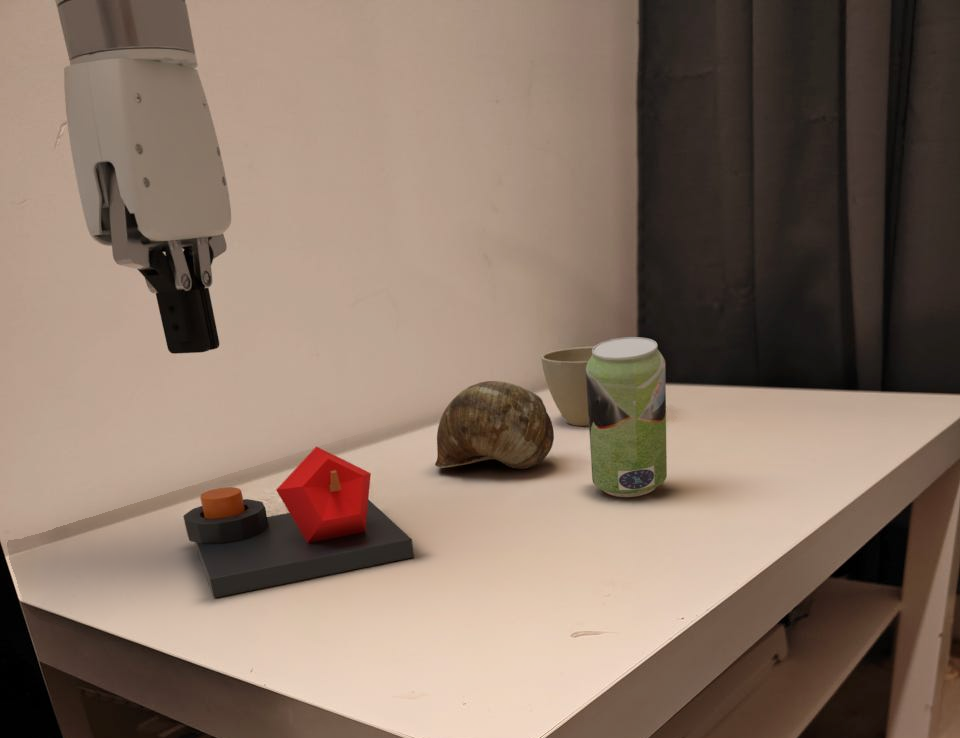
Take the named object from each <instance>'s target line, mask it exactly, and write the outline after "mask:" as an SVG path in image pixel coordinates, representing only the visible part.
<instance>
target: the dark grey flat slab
mask: <svg viewBox="0 0 960 738" xmlns="http://www.w3.org/2000/svg"><path fill="white" fill-rule="evenodd" d="M243 502H244V508H245V512H243V513H241V514H238V515H235V516H230V517H225V518H212V519H208V518H205V517H204V512H203V508H202V505H200V506H197V507H194V508H192V509H191V510H189V511H187V512H186V513H185V514H184V515H183V522H184V526H185V531H186V534H187V537H188V540H189V541H190V542H193V543H194V546H195V548H196V552H197V554H198V558H199V560H200V562H201V566H202V569H203V571H204V573H205V577H206V579H207V580H206V581H207V582H208V585H209V588H210V592H211V594H212V597H213V598H214V599H216V598H221V597H227V596H231V595H235V594H240V593H245V592H250V591H256V590H260V589H261V590H262V589H266V588H269V587H275V586H280V585H281V586H282V585H284V584H290V583H296V582H300V581H305V580H309V579H314V578H320V577H324V576H330V575H334V574H338V573H343V572H344V573H345V572H348V571H353V570H358V569H359V570H360V569H364V568H368V567H373V566H379V565H383V564H389V563H392V562H398V561H402V560H409V559H413V558H414V557H415V555H414V554H415V553H414V546H413V538H411V537H410V536H409V535H408V533H406V532H405V531H404V530H403V529H401V528H400V527H399V526H398V524H396V523H395V522H394V521H393V520H392V519H391V518H390V517H389V516H387V515H386V514H385V513H384V512H383V511H382V510H381V509H380V508H379V507H378V506H377V505H375V504H374V502H372V500H370V499H369V498H368V509H367V520H366V531H365V532H362V533H357V534H352V535H347V536H342V537H337V538H332V539H327V540H321V541H316V542H311V543H307V542H306V540H305V538H304V536H303V535H302V533H301V531H300V530H299V528H298V526H297V525H296V523H295V521H294V519H293V518H292V516H291V514H290V513H289V512H288V513H282V514H275V515H270V516H269V515H267V509H266V506H265V504H264V503H263V501H260V500H254V499H249V498H243Z"/></svg>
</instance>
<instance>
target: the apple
mask: <svg viewBox="0 0 960 738" xmlns="http://www.w3.org/2000/svg"><path fill="white" fill-rule="evenodd" d="M371 475H372V473H371V472H369V471H367V470H366V469H363V468H361V467H359V466H358V465H355V464H353V463H351V462H350V461H347V460H345V459H343V458H341V457H339V456H337V455H335V454H332V453H331V452H329V451H327V450H325V449H323V448H320V447H319V446H315V447H314V448H313V449H312V450H311V451H310V453H308V455H307V456H306V457H305V458H304V459H303V460H302V461H301V462H300V463H299V465H297V466H296V468H294V470H293V471H292V472H291V473H290V474H289V475H288V476H287V478H285V479H284V481H283V482H282V483H281V484H280V485H279V486H278V487H277V488H276V489H275V491H276V492H277V494H278V496H279V497H280V499H281V501H282V502H283V504H284V507H286V510H287V512H288V513H290V514H291V516H292V518H293V519H294V521H295V523H296V525H297V526H298V528H299V530H300V531H301V533H302V535H303V536H304V538H305V540H306V542H307V543H311V542H316V541H321V540H327V539H332V538H337V537H342V536H347V535H352V534H357V533H362V532H365V531H366V520H367V509H368V499H369V498H370V497H369V496H370V488H371V487H370V486H371Z"/></svg>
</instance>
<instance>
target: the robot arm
mask: <svg viewBox="0 0 960 738" xmlns="http://www.w3.org/2000/svg"><path fill="white" fill-rule="evenodd" d="M54 1H55V4H56V5H55V6H56V8H57V12H58V17H59V21H60V22H59V23H60V27H61V30H62V35H63V38H64V39H63V40H64V43H65V48H66V52H67V56H68V60H69V64H70V65H66V66H65V67H64V68H63V73H64V74H63V75H64V76H63V83H64V87H63V88H64V101H65V113H66V114H65V115H66V121H67V122H66V123H67V130H68V137H69V144H70V151H71V156H72V162H73V168H74V174H75V179H76V183H77V189H78V193H79V194H78V195H79V199H80V203H81V207H82V212H83V217H84V220H85V225H86V227H87V231H88V232H89V235H90V237H91V238H92V239H93V240H94V241H95V242H96V243H98V244H100V245H102V246H106V247H109V246H110V247H111V250H112V259H113V260H114V263H115V264H116V265H119V266H123V267H125V268H126V267H127V268H131V269H135V270H137V271H138V272H139V273H140V274H141V275H142V276H143V277H144V280H145V284H146V286H147V289H148V290H149V292H150V293H152V294H155V297H156V301H157V307H158V310H159V315H160V320H161V324H162V329H163V334H164V338H165V343H166V347H167V350H168V352H169V353H171V354H173V355H174V354H196V353H197V354H198V353H206V352H209V351H213V350H216V349H218V348H220V339H219V333H218V329H217V324H216V319H215V314H214V309H213V303H212V298H211V294H210V293H211V292H210V288H211V286H212V284H213V273H212V265H213V262H214V260H215V259H216V258H218V257H219V256H221V255H222V254H224V253H225V252H226V251H227V247H228V245H227V242H226V238H225V235H224V233H226V232H227V230H228V229H229V228H230V226H231V224H232V209H231V200H230V194H229V188H228V182H227V177H226V172H225V167H224V162H223V158H222V153H221V149H220V145H219V140H218V136H217V132H216V129H215V124H214V121H213V117H212V114H211V111H210V106H209V102H208V100H207V96H206V93H205V89H204V87H203V84H202V81H201V77H200V74H199V72H198V70H197V69H196V68H198V66H199V65H198V60H197V55H196V50H195V44H194V38H193V37H194V36H193V32H192V28H191V21H190V17H189V12H188V5H187V2H186V0H54Z"/></svg>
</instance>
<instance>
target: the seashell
mask: <svg viewBox="0 0 960 738" xmlns="http://www.w3.org/2000/svg"><path fill="white" fill-rule="evenodd" d="M437 427H438V428H437V434H436V448H437V449H436V450H437V454H436V455H437V457H436V461H435V463H434V466H435V467H436V468H440V469H441V468H442V469H443V468H451V467H459V466H463V465H470V464H473V463H477V462H482V461H488V460H496V461H499V462H501V463H502V464H503V465H505V466H507V467H509V468H514V469H518V470H524V469H531V468H532V467H535V466H537V465H538V464H541V462H543V461H544V460H545V459H546V457H547V456H548V455H549V453H550V452H551V450H552V447H553V445H554V439H555V433H554V426H553V422H552V419H551V417H550V415H549V414H548V412H547V408H546V405H545V404H544V400H543V399H542V398H541V396H539V395H538V394H536V393H534V392H533V391H530V390H529V389H526V388H524V387H522V386H519V385H516V384H514V383H510V382H506V381H499V380H487V381H482V382H477V383H476V384H472V385H470V386H468V387H467V388H465V389H463V390H461V391H460V392H459V393H458V394H457V395H456V396H455V397H454V398H453V399H452V400H451V401H450V402H449V403H448V405H447V406H446V408H444V411H443V413H442V414H441V417H440V419H439V423H438V426H437Z"/></svg>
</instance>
